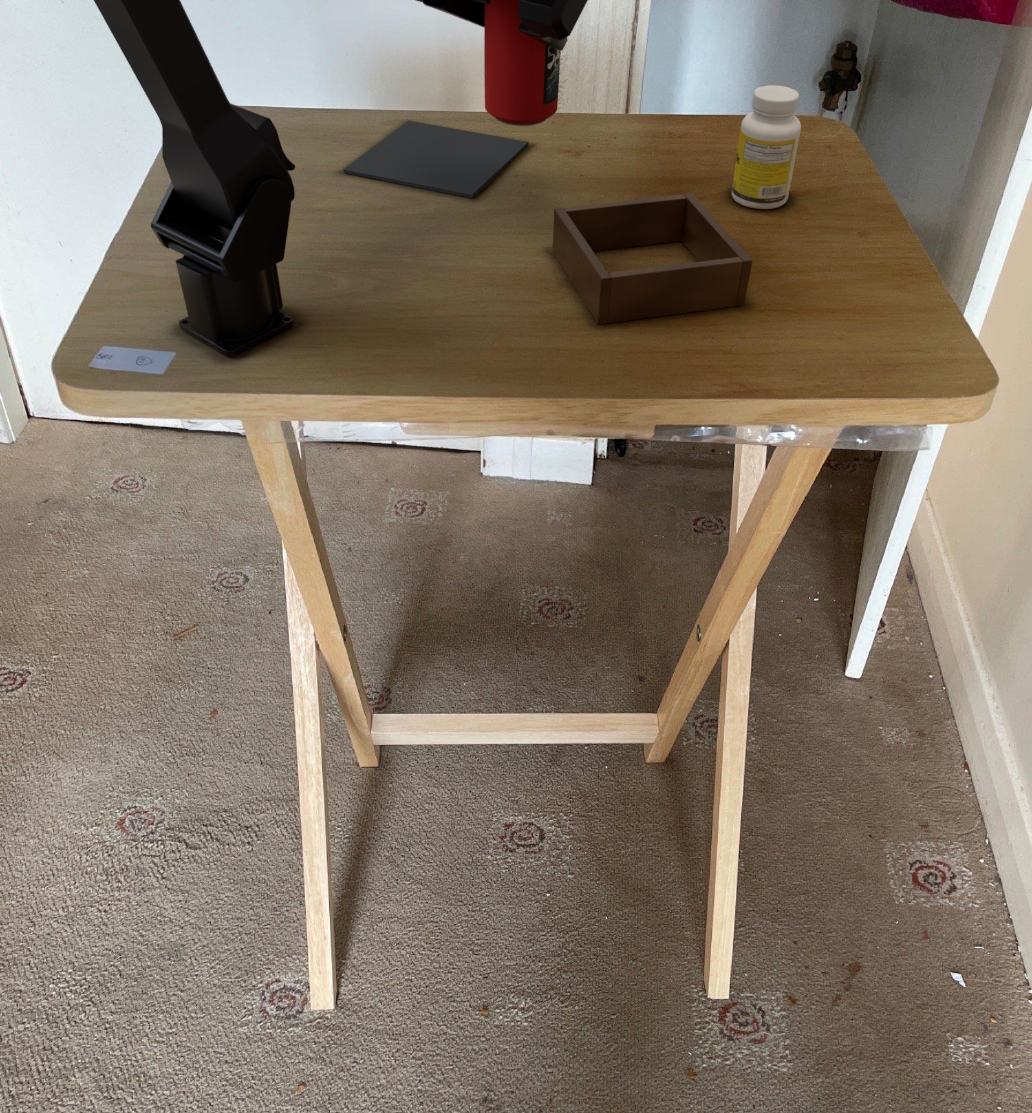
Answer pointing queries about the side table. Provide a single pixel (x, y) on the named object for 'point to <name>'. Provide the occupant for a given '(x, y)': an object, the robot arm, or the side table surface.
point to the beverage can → (517, 69)
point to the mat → (437, 158)
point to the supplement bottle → (767, 149)
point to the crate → (654, 288)
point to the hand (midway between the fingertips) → (532, 36)
